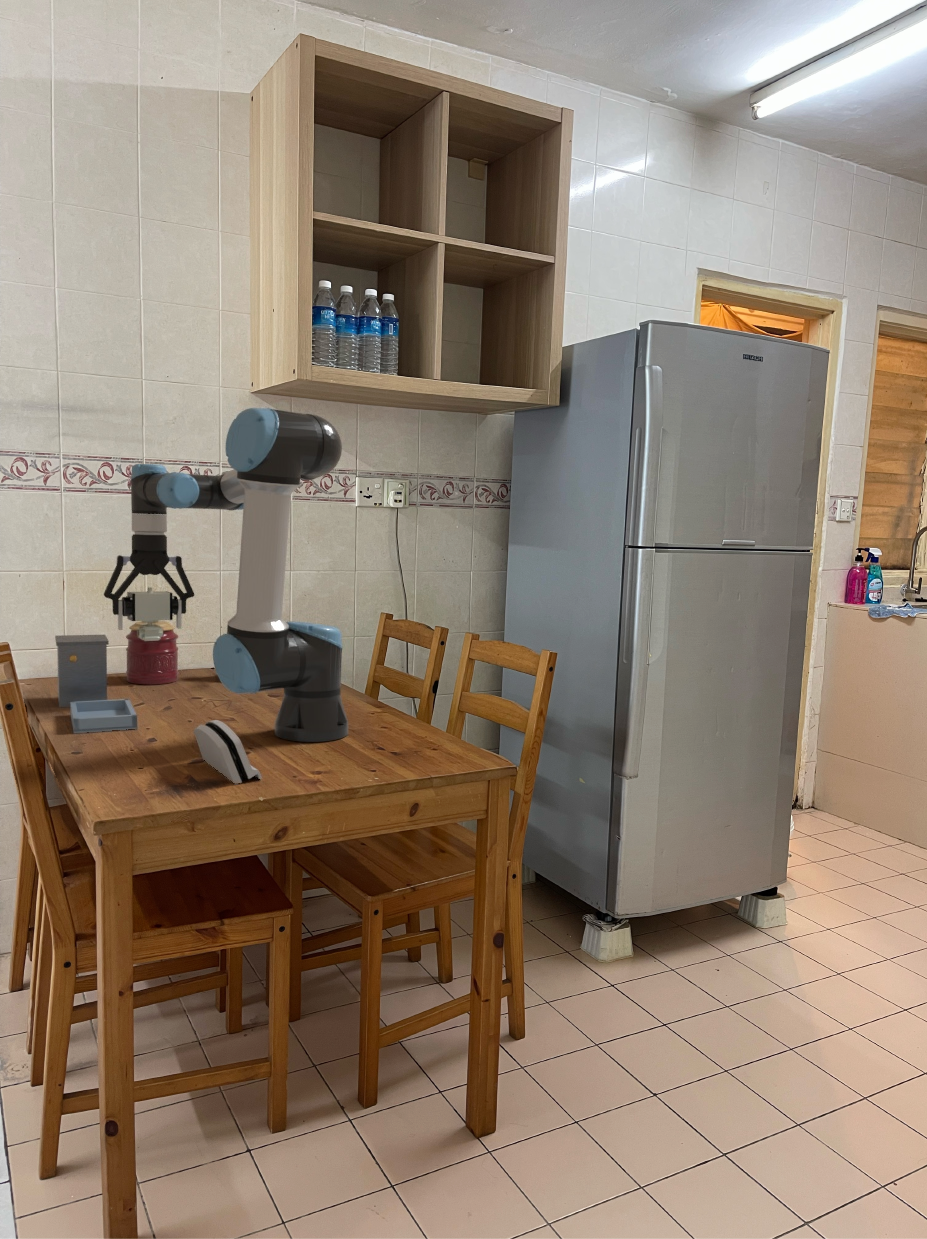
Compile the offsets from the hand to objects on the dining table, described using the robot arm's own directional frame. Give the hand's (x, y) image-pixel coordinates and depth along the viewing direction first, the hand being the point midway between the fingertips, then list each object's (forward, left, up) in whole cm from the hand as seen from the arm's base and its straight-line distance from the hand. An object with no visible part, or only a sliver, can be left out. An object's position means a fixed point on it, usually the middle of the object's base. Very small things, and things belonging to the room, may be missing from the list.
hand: (150, 628), depth 205 cm
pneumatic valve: (0, 0, -3) cm, 3 cm away
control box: (+8, +14, -18) cm, 24 cm away
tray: (-14, +11, -18) cm, 25 cm away
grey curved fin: (-57, -6, -18) cm, 60 cm away
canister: (+30, -4, -18) cm, 35 cm away
